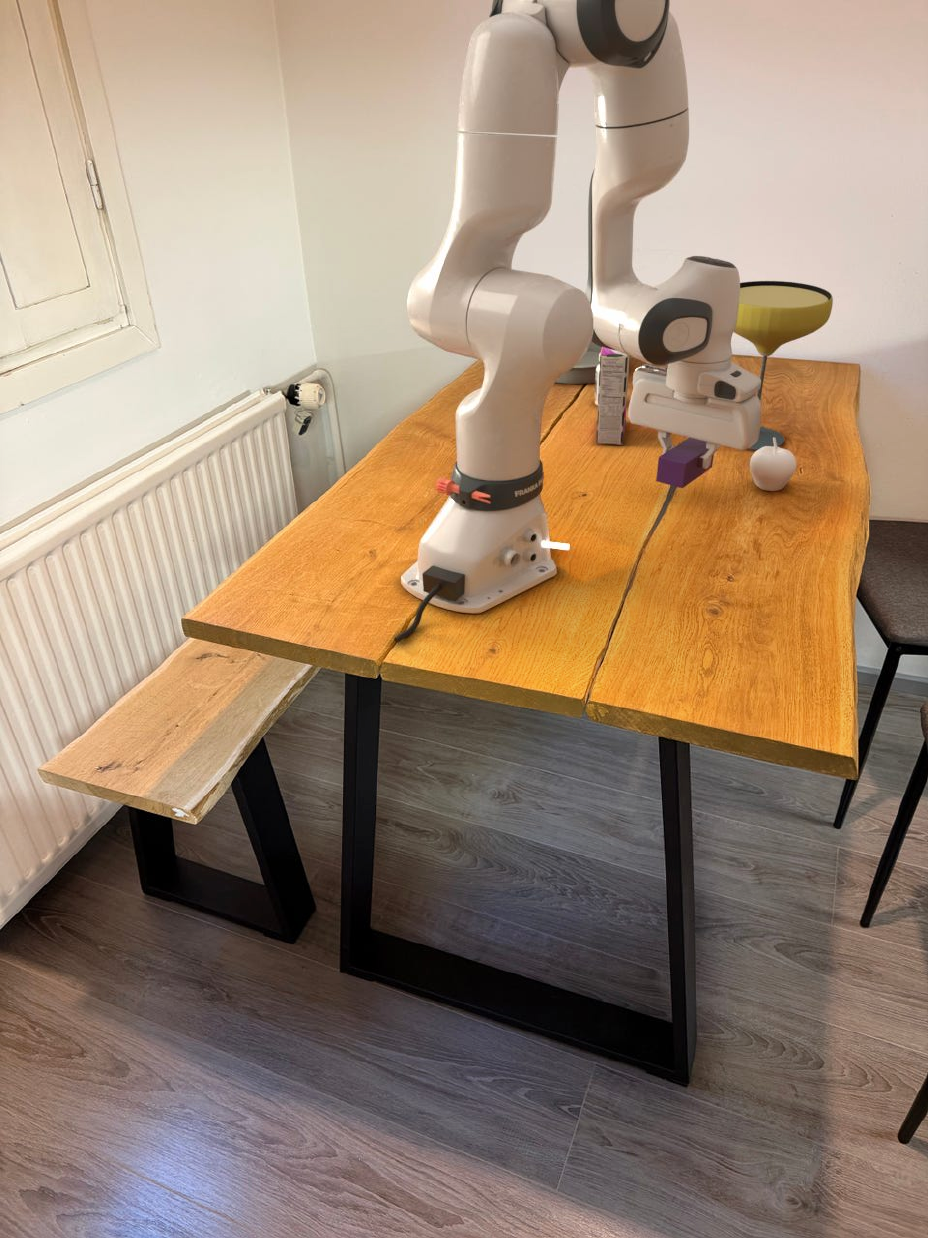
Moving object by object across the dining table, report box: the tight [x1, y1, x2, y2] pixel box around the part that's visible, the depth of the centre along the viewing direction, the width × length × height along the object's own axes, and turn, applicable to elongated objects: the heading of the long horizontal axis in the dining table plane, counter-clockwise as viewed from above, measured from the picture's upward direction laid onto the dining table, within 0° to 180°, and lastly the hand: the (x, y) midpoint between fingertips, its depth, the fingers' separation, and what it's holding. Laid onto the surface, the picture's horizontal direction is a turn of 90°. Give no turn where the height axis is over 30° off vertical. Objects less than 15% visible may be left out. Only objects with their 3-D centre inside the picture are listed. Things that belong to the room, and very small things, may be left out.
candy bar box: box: [595, 347, 631, 446], centre depth 158 cm, size 11×5×16 cm, turn 168°
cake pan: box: [554, 341, 602, 385], centre depth 192 cm, size 25×25×4 cm
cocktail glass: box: [733, 280, 834, 451], centre depth 151 cm, size 18×18×25 cm
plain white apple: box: [749, 438, 797, 492], centre depth 140 cm, size 7×7×8 cm
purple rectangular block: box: [655, 437, 715, 489], centre depth 137 cm, size 10×4×4 cm, turn 141°
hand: (686, 462), depth 137 cm, fingers closed on purple rectangular block, 4 cm apart
